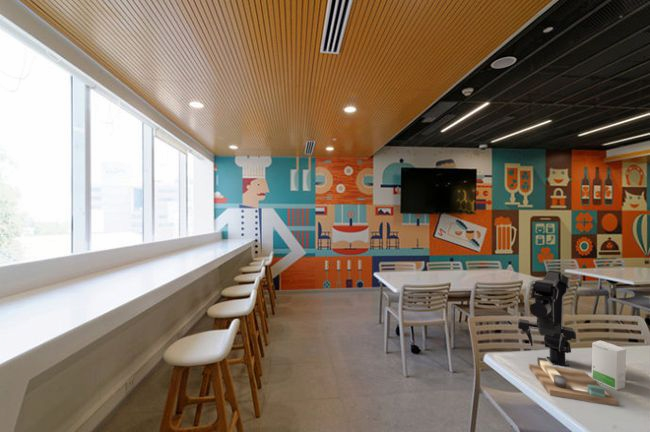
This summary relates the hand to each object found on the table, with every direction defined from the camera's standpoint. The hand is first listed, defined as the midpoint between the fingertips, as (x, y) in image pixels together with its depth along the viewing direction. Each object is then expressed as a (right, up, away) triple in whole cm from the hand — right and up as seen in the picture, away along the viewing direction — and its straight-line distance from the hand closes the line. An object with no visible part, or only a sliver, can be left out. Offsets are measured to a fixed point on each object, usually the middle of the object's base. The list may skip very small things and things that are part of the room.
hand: (545, 348), depth 116 cm
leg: (+1, -10, -1) cm, 10 cm away
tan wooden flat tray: (+5, -13, -5) cm, 14 cm away
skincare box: (+23, -13, -3) cm, 27 cm away
